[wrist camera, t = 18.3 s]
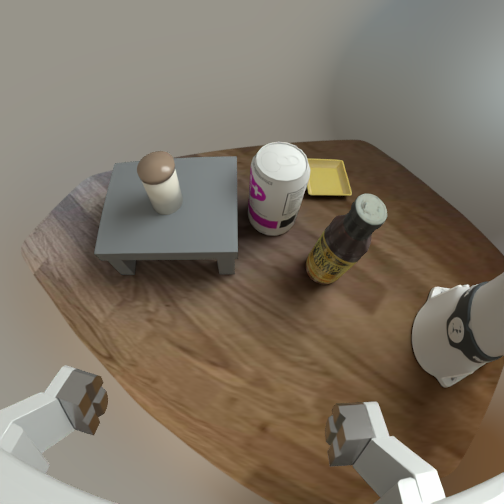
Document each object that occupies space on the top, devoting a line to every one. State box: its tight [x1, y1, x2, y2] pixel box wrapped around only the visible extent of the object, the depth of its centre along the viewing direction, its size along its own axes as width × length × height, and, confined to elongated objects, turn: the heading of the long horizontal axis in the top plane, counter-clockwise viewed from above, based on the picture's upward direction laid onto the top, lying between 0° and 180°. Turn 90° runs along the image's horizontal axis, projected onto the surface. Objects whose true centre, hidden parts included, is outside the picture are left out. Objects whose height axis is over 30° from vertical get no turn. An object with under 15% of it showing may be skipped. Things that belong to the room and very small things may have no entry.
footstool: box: [94, 157, 238, 275], centre depth 46 cm, size 20×16×10 cm
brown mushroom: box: [137, 151, 183, 215], centre depth 37 cm, size 5×5×8 cm
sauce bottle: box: [306, 194, 387, 285], centre depth 40 cm, size 6×6×20 cm
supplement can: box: [248, 142, 310, 236], centre depth 45 cm, size 8×8×15 cm
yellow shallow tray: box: [307, 159, 352, 196], centre depth 56 cm, size 9×9×2 cm
